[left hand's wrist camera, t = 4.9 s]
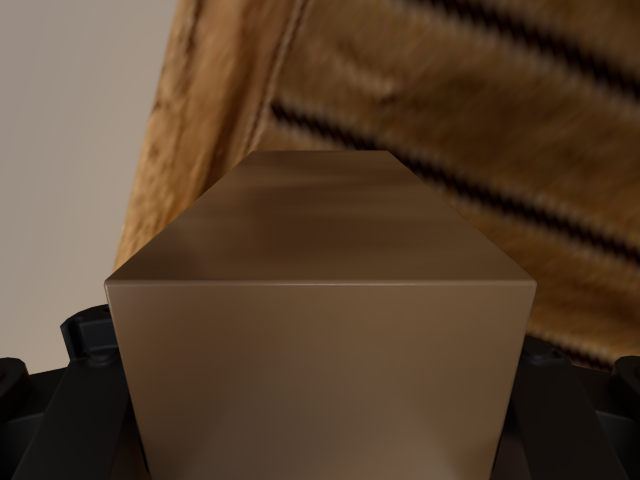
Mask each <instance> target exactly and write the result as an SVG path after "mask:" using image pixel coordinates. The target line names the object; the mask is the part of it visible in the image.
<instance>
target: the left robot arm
mask: <svg viewBox="0 0 640 480" xmlns="http://www.w3.org/2000/svg"><path fill="white" fill-rule="evenodd" d="M60 328H61V332H62V335H63V338H64V341H65V345H66V348H67V351H68V354H69V358H70V362H69V364H68V366H67V367H65V368H61V369H56V370H51V371H46V372H41V373H36V374H31V375H29V373H28V371H27V368H26V365H25V363H24V362H23V361H21V360H20V359H17V358H9V357H7V358H0V480H151V479H150V475H149V471H148V467H147V463H146V458H145V454H144V450H143V446H142V442H141V438H140V434H139V429H138V425H137V421H136V417H135V413H134V409H133V404H132V400H131V396H130V392H129V388H128V384H127V380H126V375H125V371H124V367H123V363H122V359H121V355H120V350H119V346H118V342H117V338H116V334H115V330H114V325H113V321H112V317H111V313H110V309H109V305H108V304H104V305H100V306H95V307H91V308H88V309H86V310H83V311H80V312H78V313H76V314H75V315H73V316H71V317H70V318H68V319H67V320H66V321H65V322H64V323H63V324H62V325H61V326H60ZM490 480H640V356H624V357H621V358H619V359H618V360H616V361H615V364H614V367H613V370H612V372H611V373H608V372H603V371H598V370H593V369H588V368H583V367H578V366H574V365H572V364H571V362H570V360H569V359H568V357H567V356H566V355H565V354H564V352H562V351H561V350H560V349H558V348H557V347H555V346H554V345H552V344H550V343H548V342H545V341H543V340H541V339H538V338H534V337H530V336H526V335H525V337H524V342H523V346H522V350H521V354H520V358H519V362H518V366H517V371H516V375H515V379H514V383H513V387H512V391H511V395H510V399H509V404H508V408H507V412H506V416H505V420H504V424H503V428H502V433H501V437H500V441H499V445H498V449H497V453H496V457H495V462H494V466H493V470H492V474H491V478H490Z"/></svg>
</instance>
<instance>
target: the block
mask: <svg viewBox="0 0 640 480" xmlns="http://www.w3.org/2000/svg"><path fill="white" fill-rule="evenodd" d="M104 288H105V292H106V296H107V301H108V305H109V309H110V313H111V317H112V321H113V325H114V330H115V334H116V338H117V342H118V346H119V350H120V355H121V359H122V363H123V367H124V371H125V375H126V380H127V384H128V388H129V392H130V396H131V400H132V404H133V409H134V413H135V417H136V421H137V425H138V429H139V434H140V438H141V442H142V446H143V450H144V454H145V458H146V463H147V467H148V471H149V475H150V479H151V480H490V478H491V474H492V470H493V466H494V462H495V457H496V453H497V449H498V445H499V441H500V437H501V433H502V428H503V424H504V420H505V416H506V412H507V408H508V404H509V399H510V395H511V391H512V387H513V383H514V379H515V375H516V371H517V366H518V362H519V358H520V354H521V350H522V346H523V342H524V337H525V333H526V329H527V325H528V321H529V317H530V313H531V308H532V304H533V300H534V296H535V292H536V288H537V282H536V280H535V279H534V278H532V277H531V276H530V275H529V274H528V273H527V272H526V271H524V270H523V269H522V268H521V267H520V266H519V265H518V264H516V263H515V262H514V261H513V260H512V259H511V258H510V257H508V256H507V255H506V254H505V253H504V252H503V251H502V250H500V249H499V248H498V247H497V246H496V245H495V244H494V243H492V242H491V241H490V240H489V239H488V238H487V237H486V236H484V235H483V234H482V233H481V232H480V231H479V230H478V229H476V228H475V227H474V226H473V225H472V224H471V223H470V222H468V221H467V220H466V219H465V218H464V217H463V216H462V215H460V214H459V213H458V212H457V211H456V210H455V209H453V208H452V207H451V206H450V205H449V204H448V203H447V202H445V201H444V200H443V199H442V198H441V197H440V196H439V195H437V194H436V193H435V192H434V191H433V190H432V189H431V188H429V187H428V186H427V185H426V184H425V183H424V182H423V181H421V180H420V179H419V178H418V177H417V176H416V175H415V174H413V173H412V172H411V171H410V170H409V169H408V168H407V167H405V166H404V165H403V164H402V163H401V162H400V161H399V160H397V159H396V158H395V157H394V156H393V155H392V154H391V153H389V152H388V151H252V152H251V153H250V154H249V155H248V156H246V157H245V158H244V159H243V160H242V161H241V162H240V163H238V164H237V165H236V166H235V167H234V168H233V169H232V170H230V171H229V172H228V173H227V174H226V175H225V176H224V177H222V178H221V179H220V180H219V181H218V182H217V183H216V184H214V185H213V186H212V187H211V188H210V189H209V190H208V191H206V192H205V193H204V194H203V195H202V196H201V197H200V198H198V199H197V200H196V201H195V202H194V203H193V204H192V205H191V206H189V207H188V208H187V209H186V210H185V211H184V212H183V213H181V214H180V215H179V216H178V217H177V218H176V219H175V220H173V221H172V222H171V223H170V224H169V225H168V226H167V227H165V228H164V229H163V230H162V231H161V232H160V233H159V234H157V235H156V236H155V237H154V238H153V239H152V240H151V241H149V242H148V243H147V244H146V245H145V246H144V247H143V248H141V249H140V250H139V251H138V252H137V253H136V254H135V255H134V256H132V257H131V258H130V259H129V260H128V261H127V262H126V263H124V264H123V265H122V266H121V267H120V268H119V269H118V270H116V271H115V272H114V273H113V274H112V275H111V276H110V277H108V278H107V279H106V280H105V282H104Z"/></svg>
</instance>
